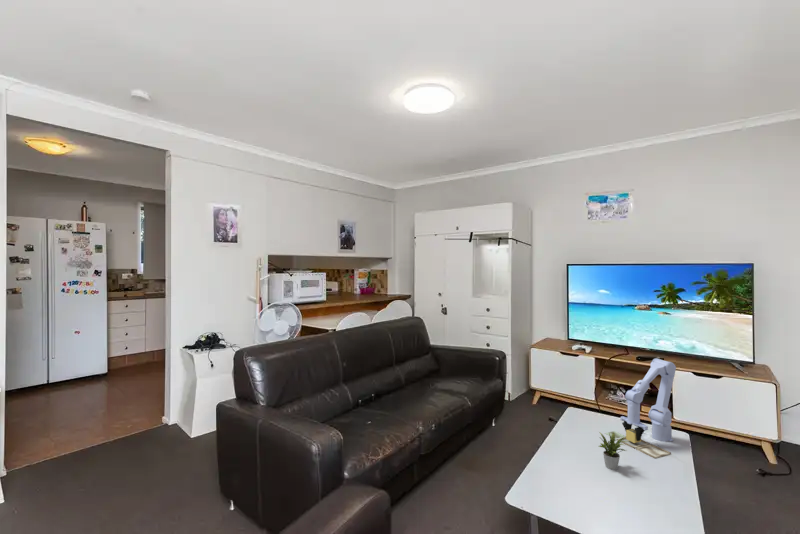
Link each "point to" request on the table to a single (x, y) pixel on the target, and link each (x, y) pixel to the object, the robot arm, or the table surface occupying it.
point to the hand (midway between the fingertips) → (633, 438)
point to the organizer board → (643, 446)
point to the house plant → (611, 451)
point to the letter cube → (631, 435)
